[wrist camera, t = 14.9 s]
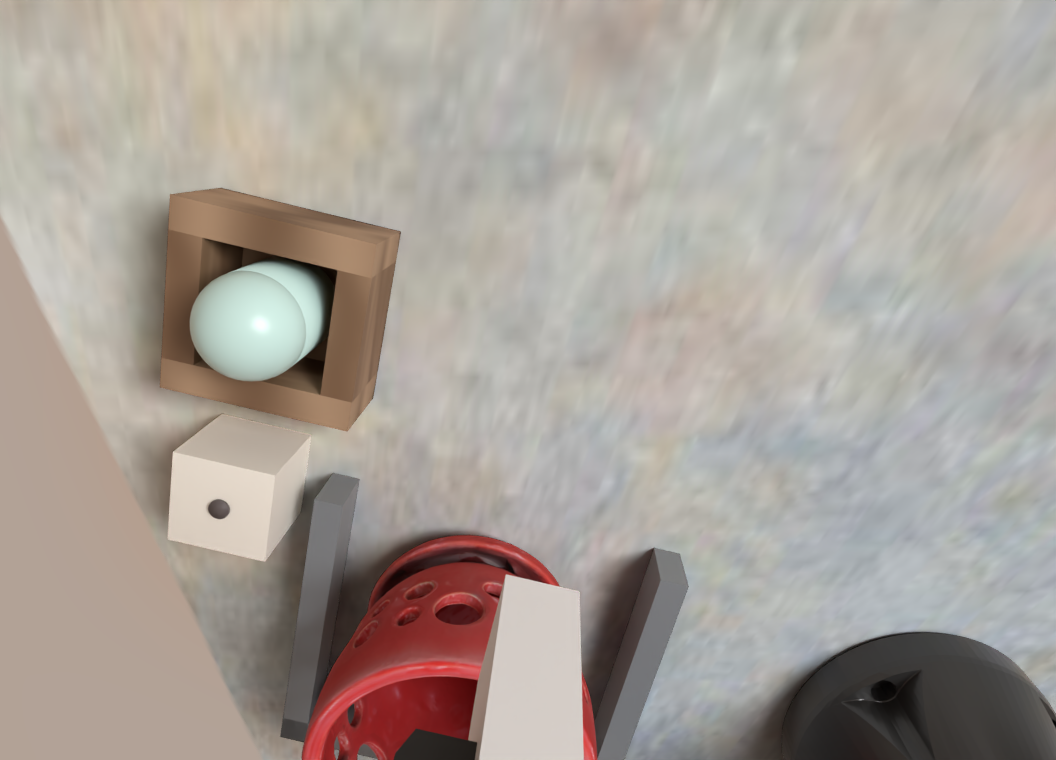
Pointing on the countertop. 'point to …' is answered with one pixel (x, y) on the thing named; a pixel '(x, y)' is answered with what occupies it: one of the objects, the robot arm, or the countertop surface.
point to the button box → (297, 233)
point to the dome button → (262, 317)
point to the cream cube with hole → (237, 486)
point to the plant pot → (422, 650)
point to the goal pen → (322, 599)
